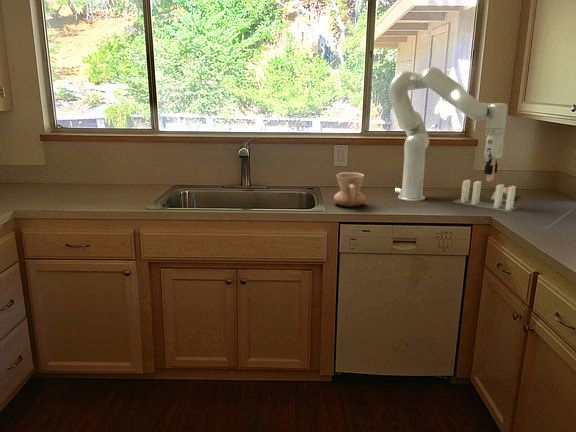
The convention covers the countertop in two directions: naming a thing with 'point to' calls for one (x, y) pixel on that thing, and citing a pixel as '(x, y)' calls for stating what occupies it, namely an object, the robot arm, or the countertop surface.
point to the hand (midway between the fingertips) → (490, 172)
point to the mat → (484, 205)
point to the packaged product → (503, 194)
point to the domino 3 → (491, 176)
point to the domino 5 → (510, 197)
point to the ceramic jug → (350, 189)
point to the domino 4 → (498, 195)
